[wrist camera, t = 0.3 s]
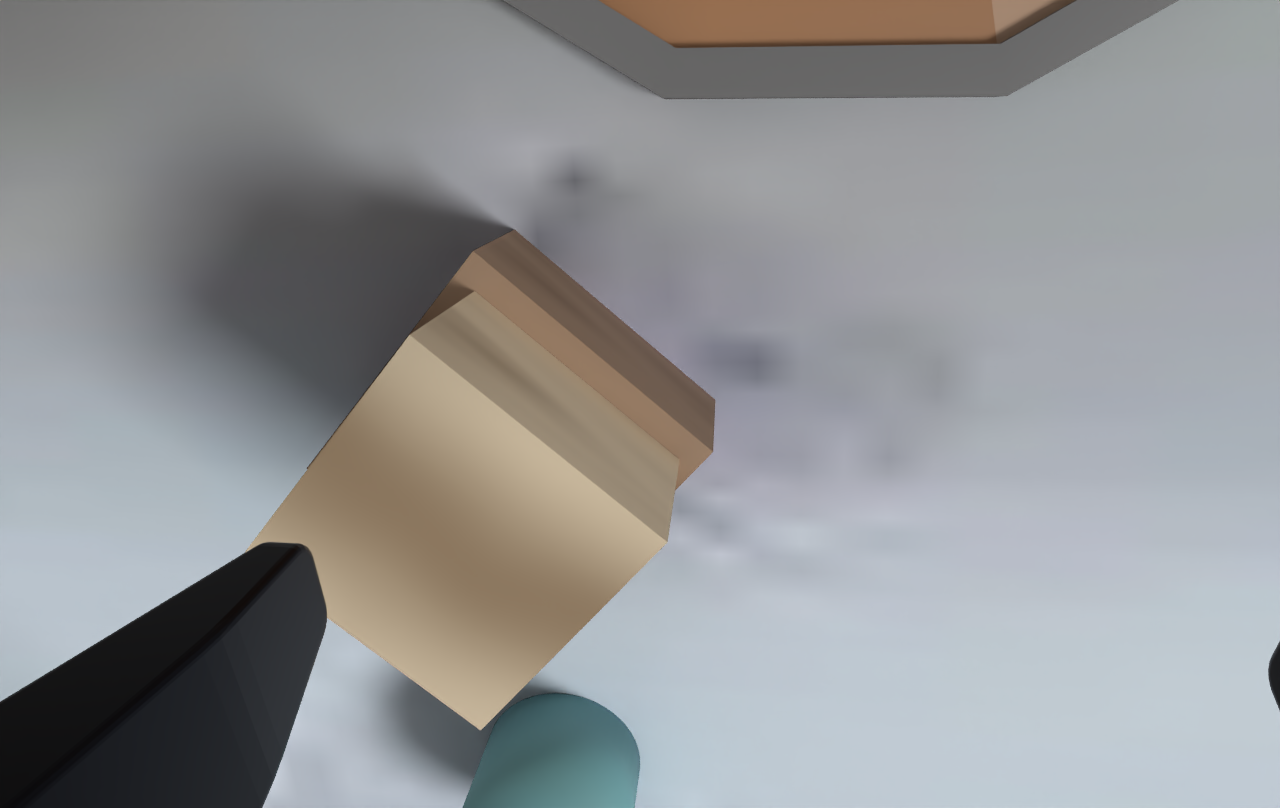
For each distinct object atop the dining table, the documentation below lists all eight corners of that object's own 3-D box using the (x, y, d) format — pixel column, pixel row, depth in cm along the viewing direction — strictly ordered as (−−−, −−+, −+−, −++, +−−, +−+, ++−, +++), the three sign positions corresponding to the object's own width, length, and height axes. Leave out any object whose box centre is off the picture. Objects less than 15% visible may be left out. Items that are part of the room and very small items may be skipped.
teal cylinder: (576, 840, 28) (553, 951, 25) (459, 756, 28) (417, 857, 24) (672, 756, 27) (663, 860, 23) (551, 664, 26) (521, 756, 22)
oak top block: (524, 621, 21) (480, 730, 17) (332, 474, 20) (242, 555, 17) (679, 459, 19) (667, 542, 16) (474, 290, 18) (409, 334, 15)
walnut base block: (559, 561, 25) (530, 639, 21) (372, 414, 24) (307, 468, 20) (715, 397, 23) (713, 451, 19) (516, 228, 22) (473, 250, 18)
